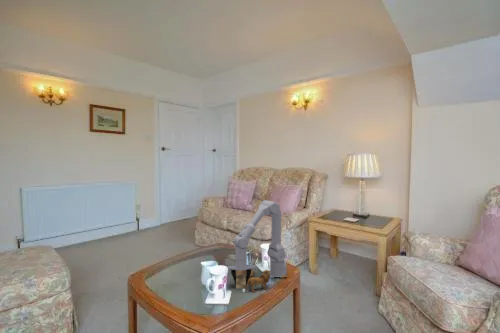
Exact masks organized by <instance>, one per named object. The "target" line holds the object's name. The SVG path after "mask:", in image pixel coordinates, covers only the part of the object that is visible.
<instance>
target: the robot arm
mask: <svg viewBox="0 0 500 333" xmlns="http://www.w3.org/2000/svg"><path fill="white" fill-rule="evenodd" d="M280 206H281V205H280V204H279V203H278V202H276V201H271V200H268V199H263V200H262V201H261V202H260V204H259V205H258V209H257V211H256V212H255V214H254V215H253V217H252V219H251V221H250V222H248V223H246V224H245V225H244V226H243V228H242V229H241V231H240V232H239V234H238V235H236V236H235V237H234V239H233V241H232V242H233V244H234V246H235V247H234V248H235V265H229V266H228V265H227V267H226V269H227V268H228V271H227V272H230V275H231V276H232V278H233V281H234V285H235V286H236V271H237V270H246V285H247V282H248V279H249V276H250V274H251V270H253V271H254V272H255V271H256V266H255V265H254V264H251V265H250V264H247V246H249V241H250V239H251V237H252V236H253V234H254V232H256V226H257V225H258V223H259V222H261V220H262V219H263V217H264V216H271V235H270V236H271V242H270V244H268V249H267V256H268V257H269V269H270V270H269V271H270V279H273V278H274V277H278V276H283V275H286V276H287V272H288V271H287V260H286V259H285V258H286V252H285V248H284V245H283V244H282V211H281V208H280ZM274 279H275V278H274Z"/></svg>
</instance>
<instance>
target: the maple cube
mask: <svg viewBox="0 0 500 333" xmlns="http://www.w3.org/2000/svg"><path fill="white" fill-rule="evenodd" d="M235 288H236V289H238V290H240V289H242V290H243V289H245V290H246V288H247V284H246V275H237V277H236V285H235Z"/></svg>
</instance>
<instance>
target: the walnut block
mask: <svg viewBox="0 0 500 333" xmlns="http://www.w3.org/2000/svg"><path fill="white" fill-rule="evenodd" d="M237 275H246V270H236V277H237ZM251 277H255V271H253V270H251V274H250V276H249V279H250V278H251ZM249 279H248V280H249Z"/></svg>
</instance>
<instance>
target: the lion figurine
mask: <svg viewBox="0 0 500 333" xmlns="http://www.w3.org/2000/svg"><path fill="white" fill-rule="evenodd" d="M270 279H271V278H270V270H268V269H265V270H263V272H262V273H261V275H260V276H259V277H257V276H256V277H255V276H254V277H251V278H250V279H249V280H248V282H247V284H246V289H245V290H244V292H245V293H246V292H247V291H250V288H249V287H250V286H251V291H252V292H253V293H256V290H254V288H255V285H258V286H260V288H261V289H263V290H264V291H267V288H266V287H267V286H266V285H267V284H268V282H269V281H270Z"/></svg>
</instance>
